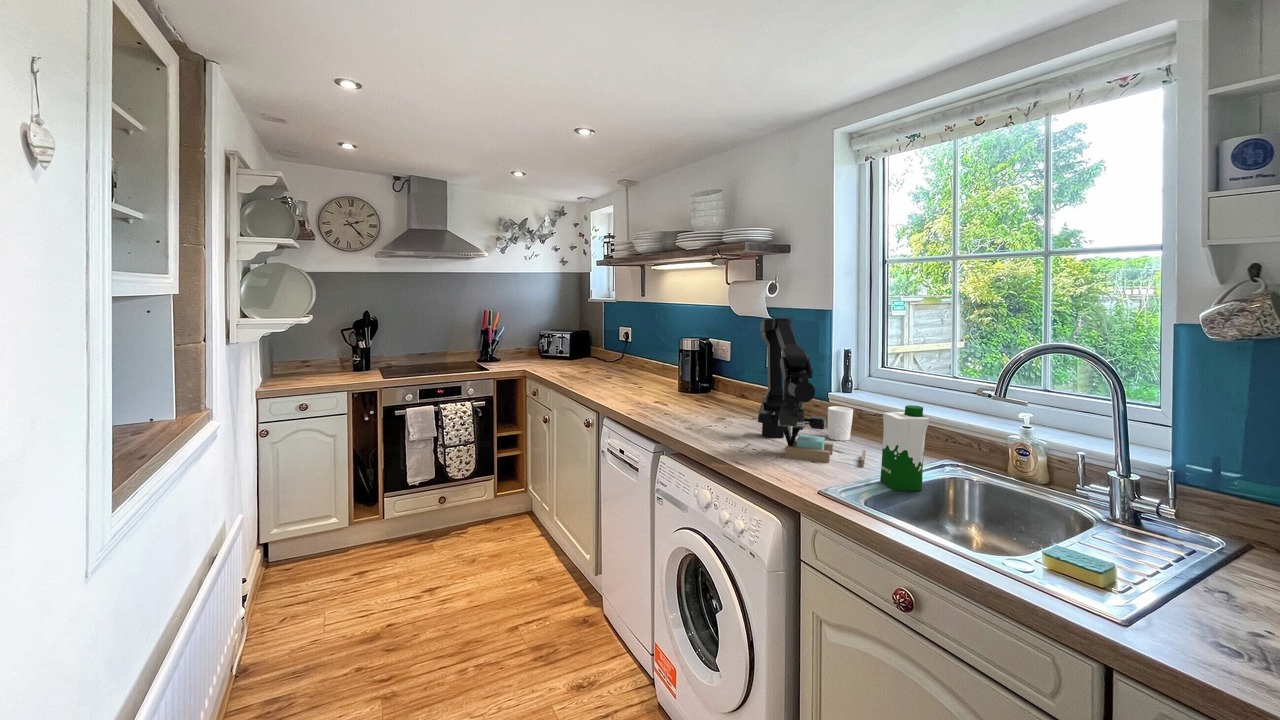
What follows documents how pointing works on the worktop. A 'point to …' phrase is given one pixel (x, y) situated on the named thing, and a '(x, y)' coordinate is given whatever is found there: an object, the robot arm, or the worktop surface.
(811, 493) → the worktop surface
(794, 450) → the chute
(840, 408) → the white cup
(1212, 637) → the worktop surface
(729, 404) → the worktop surface
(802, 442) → the block
